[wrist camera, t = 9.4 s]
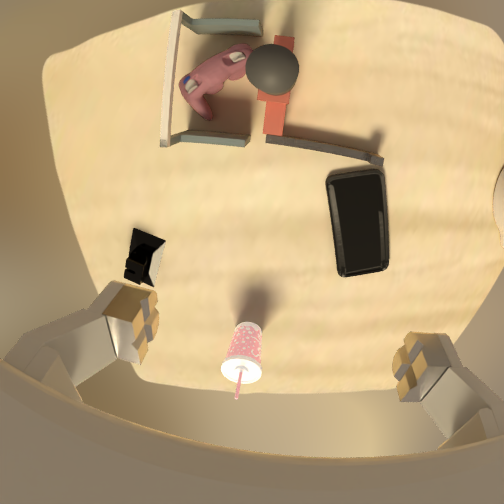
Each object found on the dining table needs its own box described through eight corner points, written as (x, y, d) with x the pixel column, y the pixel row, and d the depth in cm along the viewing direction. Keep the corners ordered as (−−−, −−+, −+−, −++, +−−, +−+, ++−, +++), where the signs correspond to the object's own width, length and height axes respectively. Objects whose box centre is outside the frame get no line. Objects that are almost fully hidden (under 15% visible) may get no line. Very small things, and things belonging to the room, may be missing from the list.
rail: (377, 153, 33) (384, 158, 31) (375, 161, 34) (382, 166, 31) (267, 133, 34) (265, 136, 32) (266, 141, 35) (264, 144, 32)
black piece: (132, 216, 42) (118, 228, 38) (175, 233, 43) (163, 248, 39) (122, 277, 48) (110, 292, 44) (159, 294, 49) (149, 311, 45)
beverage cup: (267, 343, 51) (260, 410, 38) (233, 343, 51) (219, 408, 39) (264, 317, 48) (255, 387, 35) (228, 318, 49) (210, 384, 36)
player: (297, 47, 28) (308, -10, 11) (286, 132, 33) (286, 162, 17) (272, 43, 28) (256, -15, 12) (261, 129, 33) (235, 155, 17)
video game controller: (261, 59, 31) (240, 30, 24) (278, 84, 31) (259, 55, 24) (196, 99, 34) (165, 79, 28) (208, 125, 34) (177, 106, 27)
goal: (263, 30, 28) (255, 9, 20) (249, 141, 35) (238, 153, 27) (198, 28, 28) (172, 10, 20) (187, 136, 35) (159, 146, 27)
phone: (338, 278, 42) (324, 177, 35) (337, 274, 43) (323, 175, 36) (389, 269, 40) (384, 169, 34) (387, 265, 41) (381, 167, 35)
